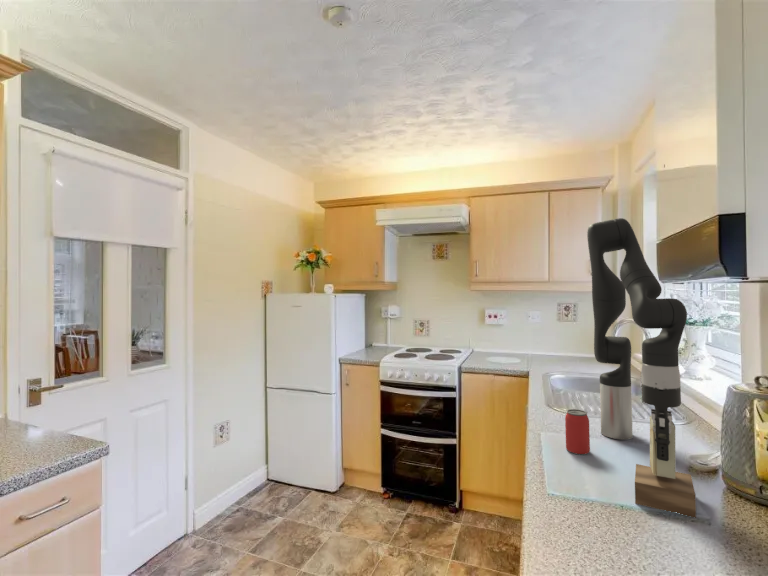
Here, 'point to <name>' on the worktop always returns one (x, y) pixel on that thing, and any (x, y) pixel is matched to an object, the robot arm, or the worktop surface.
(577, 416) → the beer can
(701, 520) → the worktop surface
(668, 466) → the skincare box
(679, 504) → the walnut block
